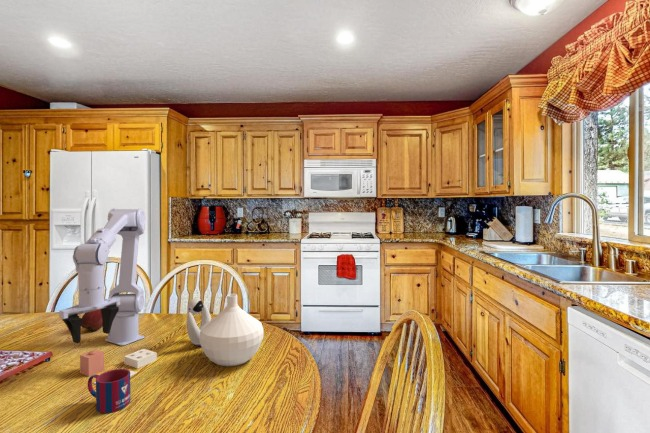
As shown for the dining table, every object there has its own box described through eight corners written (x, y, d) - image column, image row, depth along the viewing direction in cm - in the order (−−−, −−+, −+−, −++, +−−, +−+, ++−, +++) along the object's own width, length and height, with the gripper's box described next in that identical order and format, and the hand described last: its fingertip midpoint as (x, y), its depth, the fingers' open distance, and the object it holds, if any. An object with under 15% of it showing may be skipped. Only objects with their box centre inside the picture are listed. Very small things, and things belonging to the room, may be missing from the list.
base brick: (124, 364, 99) (124, 356, 99) (143, 356, 105) (143, 348, 105) (137, 369, 97) (137, 360, 97) (156, 361, 102) (156, 352, 102)
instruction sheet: (93, 383, 88) (93, 382, 88) (120, 369, 96) (120, 368, 96) (111, 387, 87) (111, 386, 87) (137, 372, 94) (137, 371, 94)
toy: (199, 352, 107) (199, 304, 107) (178, 350, 109) (178, 303, 108) (217, 338, 118) (217, 295, 118) (198, 337, 120) (198, 293, 119)
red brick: (80, 373, 94) (80, 353, 94) (95, 367, 97) (95, 348, 97) (88, 376, 92) (88, 356, 92) (104, 370, 95) (104, 351, 95)
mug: (111, 416, 75) (110, 385, 75) (78, 407, 78) (77, 377, 78) (137, 399, 81) (137, 371, 81) (105, 392, 84) (105, 364, 84)
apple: (110, 329, 127) (109, 307, 126) (86, 335, 120) (86, 312, 120) (100, 325, 131) (99, 304, 130) (76, 331, 124) (76, 309, 124)
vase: (185, 367, 98) (185, 299, 97) (225, 343, 115) (225, 285, 114) (241, 379, 91) (241, 307, 91) (274, 351, 108) (274, 290, 108)
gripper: (69, 295, 86) (70, 350, 86) (126, 284, 98) (127, 331, 99) (54, 292, 89) (55, 344, 89) (111, 281, 102) (112, 327, 102)
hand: (92, 337), depth 94 cm, fingers open, 7 cm apart
